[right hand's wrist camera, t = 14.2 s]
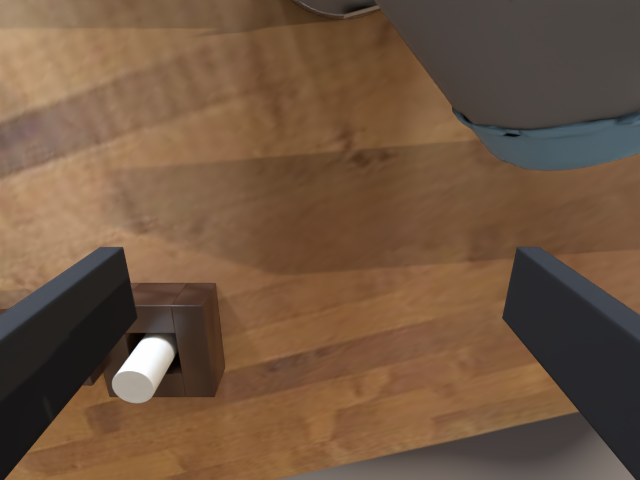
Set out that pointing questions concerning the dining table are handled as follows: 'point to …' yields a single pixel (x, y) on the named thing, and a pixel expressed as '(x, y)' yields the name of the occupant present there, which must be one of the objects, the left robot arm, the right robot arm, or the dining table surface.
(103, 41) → the dining table surface
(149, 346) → the peg
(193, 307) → the peg stand
